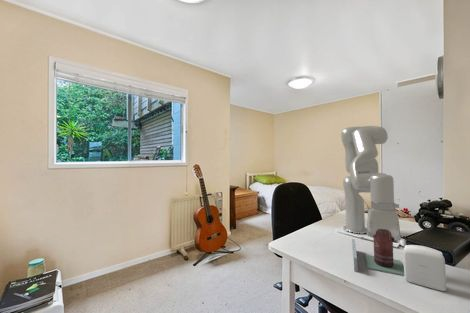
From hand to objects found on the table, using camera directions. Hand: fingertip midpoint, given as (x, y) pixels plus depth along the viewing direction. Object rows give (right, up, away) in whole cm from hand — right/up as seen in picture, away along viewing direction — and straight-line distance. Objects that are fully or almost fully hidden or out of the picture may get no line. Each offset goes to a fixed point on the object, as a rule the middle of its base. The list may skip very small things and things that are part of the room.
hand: (383, 253), depth 81 cm
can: (0, -4, 0) cm, 4 cm away
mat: (0, -5, 0) cm, 5 cm away
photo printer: (+4, -5, -13) cm, 14 cm away
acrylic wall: (-9, -5, +5) cm, 11 cm away
